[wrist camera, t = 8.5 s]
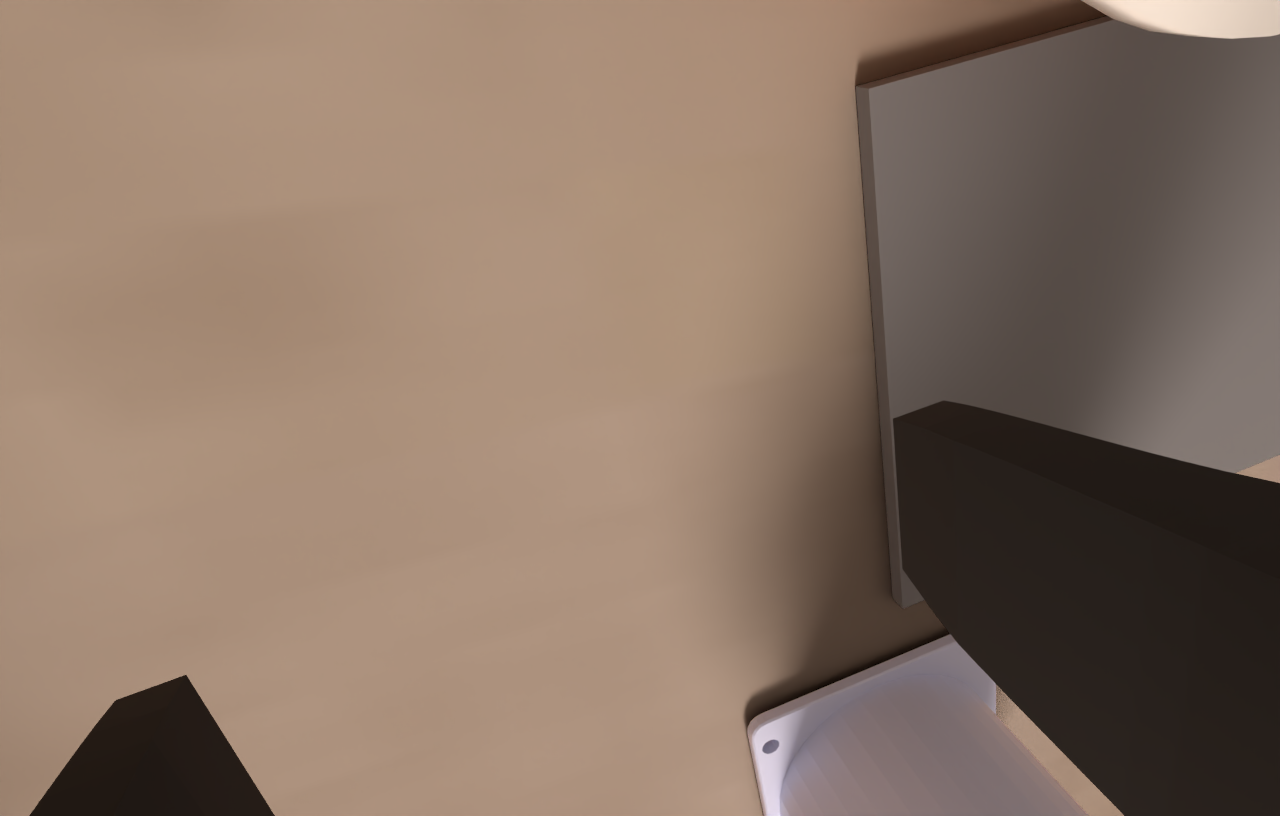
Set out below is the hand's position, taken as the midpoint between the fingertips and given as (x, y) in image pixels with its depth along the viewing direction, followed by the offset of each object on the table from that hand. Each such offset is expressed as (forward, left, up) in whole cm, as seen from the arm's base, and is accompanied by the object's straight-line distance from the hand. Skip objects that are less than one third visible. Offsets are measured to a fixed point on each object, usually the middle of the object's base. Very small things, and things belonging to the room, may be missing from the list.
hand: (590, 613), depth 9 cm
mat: (-5, -16, -10) cm, 19 cm away
